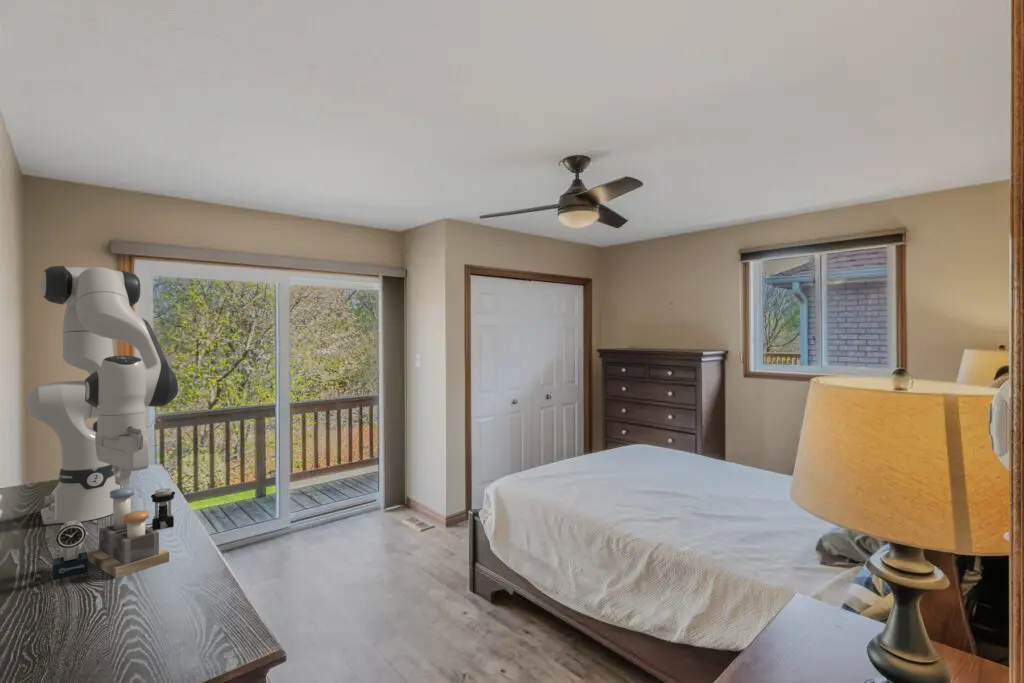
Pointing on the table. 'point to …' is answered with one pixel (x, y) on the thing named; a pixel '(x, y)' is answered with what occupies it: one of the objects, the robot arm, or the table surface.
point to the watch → (70, 551)
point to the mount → (127, 551)
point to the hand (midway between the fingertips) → (122, 484)
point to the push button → (162, 509)
